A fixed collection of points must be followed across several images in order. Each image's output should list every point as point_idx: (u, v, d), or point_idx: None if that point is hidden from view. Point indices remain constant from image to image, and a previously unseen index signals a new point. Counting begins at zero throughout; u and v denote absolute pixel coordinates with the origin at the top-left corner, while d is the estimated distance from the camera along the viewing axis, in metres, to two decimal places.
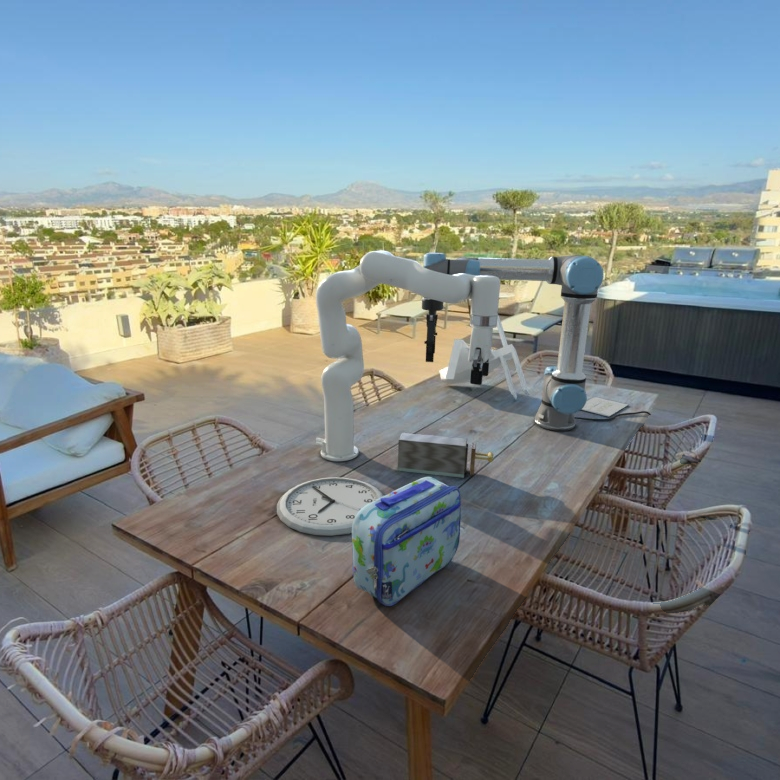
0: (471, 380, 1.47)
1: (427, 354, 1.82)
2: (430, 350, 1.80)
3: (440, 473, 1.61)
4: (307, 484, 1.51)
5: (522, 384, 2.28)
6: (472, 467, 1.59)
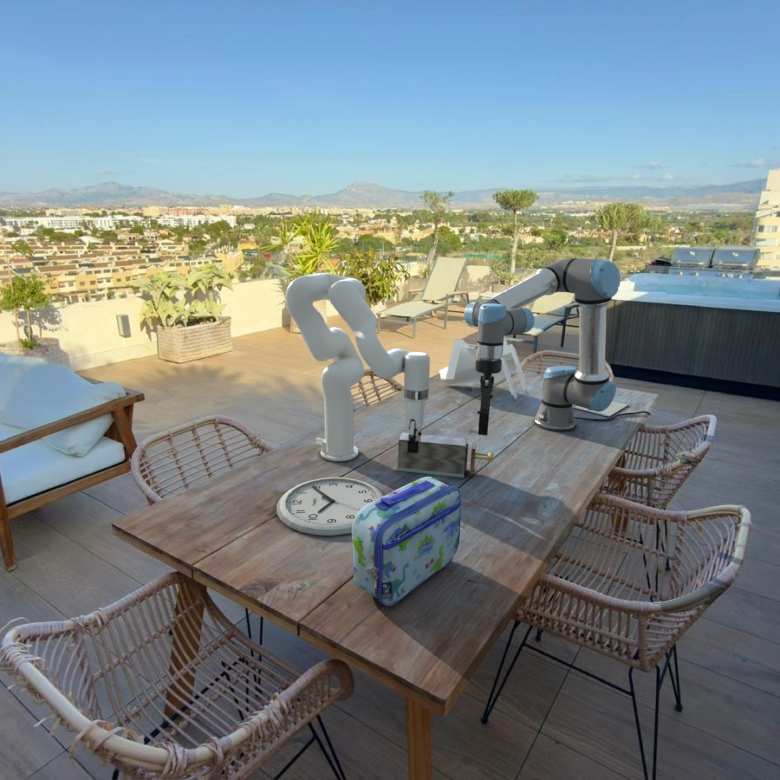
0: (408, 449, 1.60)
1: (480, 426, 1.50)
2: (484, 422, 1.49)
3: (440, 473, 1.61)
4: (307, 484, 1.51)
5: (522, 384, 2.28)
6: (472, 467, 1.59)
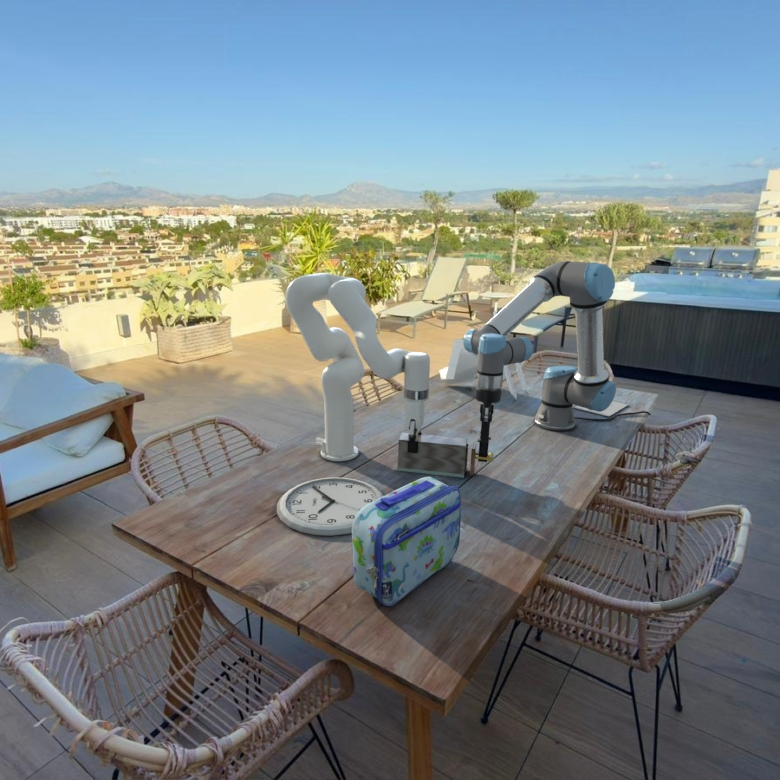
0: (408, 449, 1.60)
1: (480, 453, 1.59)
2: (484, 449, 1.57)
3: (440, 473, 1.61)
4: (307, 484, 1.51)
5: (522, 384, 2.28)
6: (472, 467, 1.59)
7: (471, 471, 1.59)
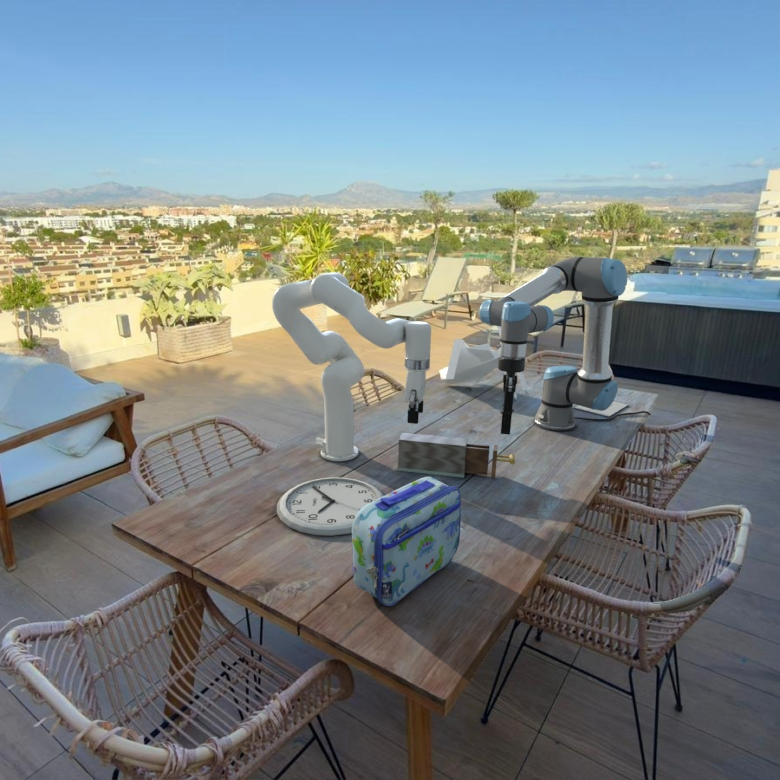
0: (408, 419, 1.56)
1: (503, 425, 1.55)
2: (507, 421, 1.53)
3: (440, 473, 1.61)
4: (307, 484, 1.51)
5: (522, 384, 2.28)
6: (494, 469, 1.58)
7: (492, 473, 1.58)
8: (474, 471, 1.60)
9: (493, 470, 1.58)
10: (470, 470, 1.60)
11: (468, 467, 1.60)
